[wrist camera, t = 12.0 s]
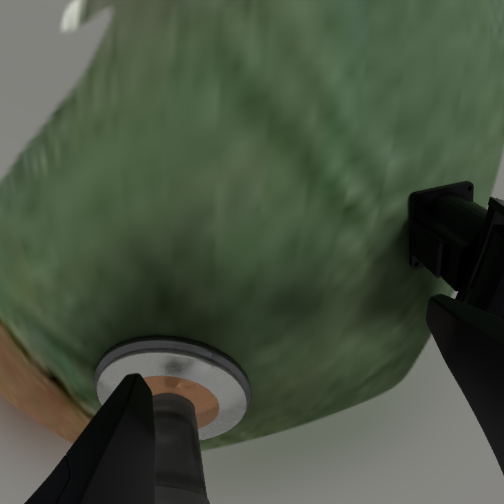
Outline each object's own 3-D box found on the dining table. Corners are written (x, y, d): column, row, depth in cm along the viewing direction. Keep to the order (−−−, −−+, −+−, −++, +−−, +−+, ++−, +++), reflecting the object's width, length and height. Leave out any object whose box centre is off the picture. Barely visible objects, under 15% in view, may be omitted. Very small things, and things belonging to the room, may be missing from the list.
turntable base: (226, 318, 24) (226, 325, 23) (263, 419, 31) (264, 425, 30) (67, 349, 24) (65, 355, 23) (138, 436, 31) (137, 441, 30)
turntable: (222, 332, 24) (222, 340, 23) (259, 424, 30) (260, 431, 29) (71, 359, 24) (68, 366, 23) (139, 440, 30) (138, 446, 29)
